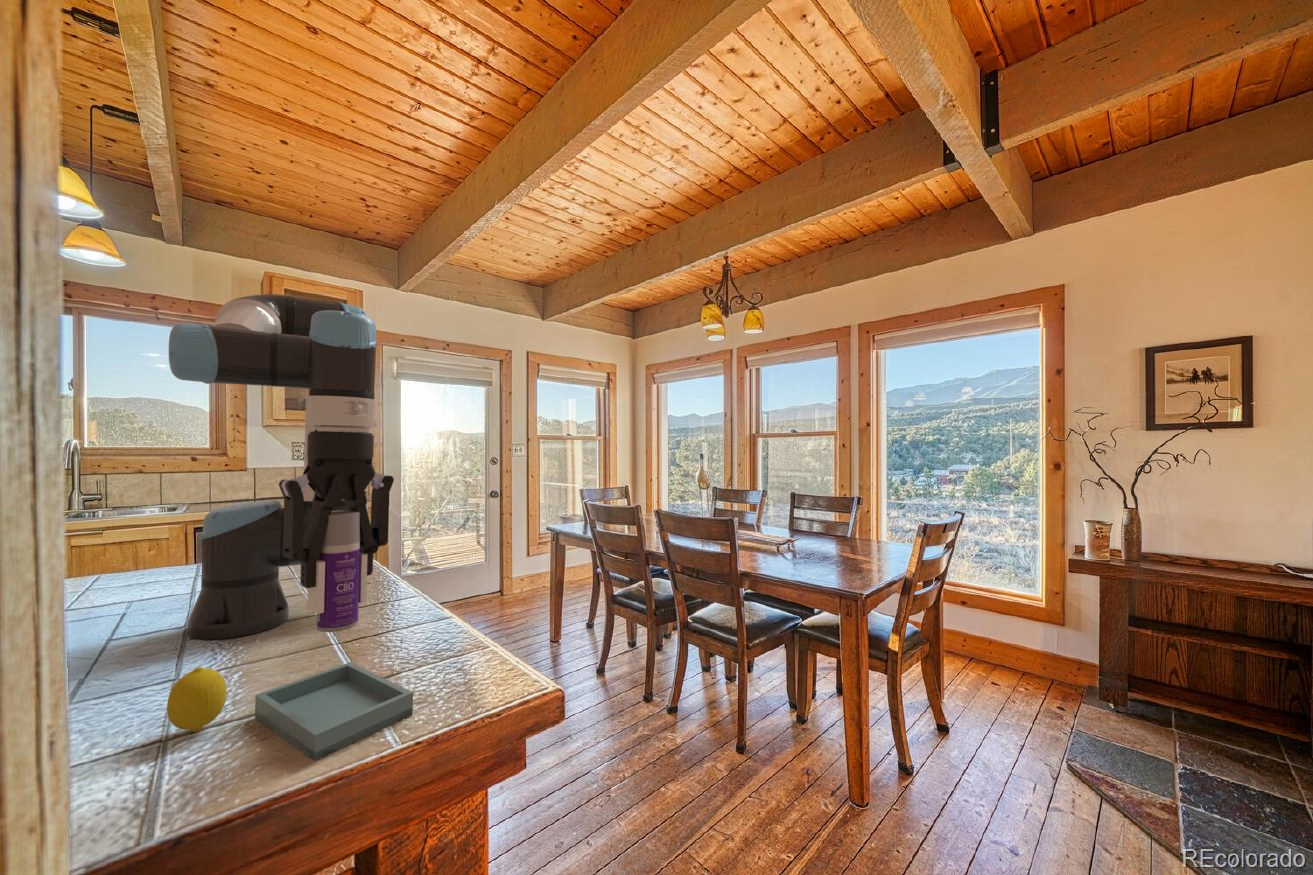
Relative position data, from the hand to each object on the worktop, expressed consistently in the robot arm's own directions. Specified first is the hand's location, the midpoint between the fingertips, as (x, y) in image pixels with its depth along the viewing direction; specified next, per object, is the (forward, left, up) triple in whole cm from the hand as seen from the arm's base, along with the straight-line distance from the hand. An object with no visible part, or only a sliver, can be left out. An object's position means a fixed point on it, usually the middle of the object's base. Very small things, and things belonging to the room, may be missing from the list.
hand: (337, 605), depth 68 cm
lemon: (-10, -11, -15) cm, 21 cm away
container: (0, 0, -3) cm, 3 cm away
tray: (0, 0, -15) cm, 15 cm away
